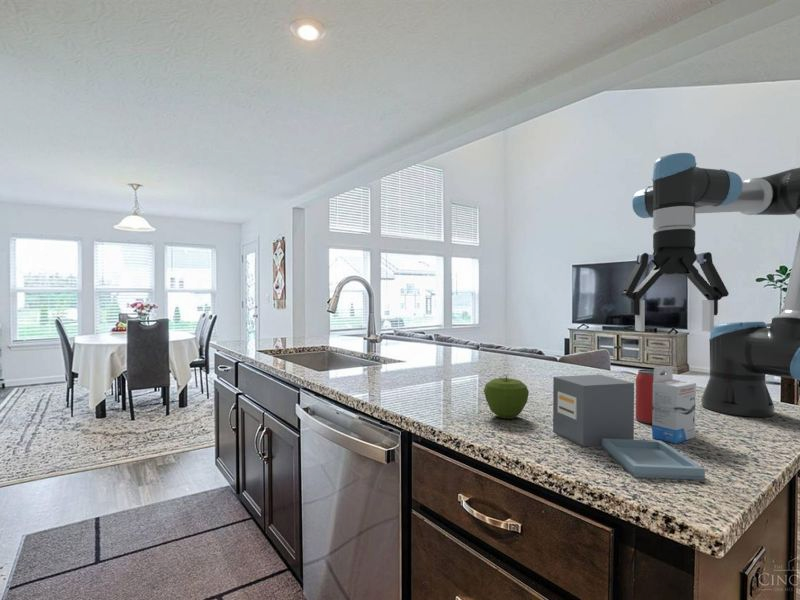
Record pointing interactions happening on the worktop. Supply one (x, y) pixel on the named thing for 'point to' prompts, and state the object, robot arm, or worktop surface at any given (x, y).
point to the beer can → (644, 395)
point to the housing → (593, 408)
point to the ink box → (672, 407)
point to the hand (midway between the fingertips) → (673, 331)
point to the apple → (506, 397)
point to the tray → (652, 459)
